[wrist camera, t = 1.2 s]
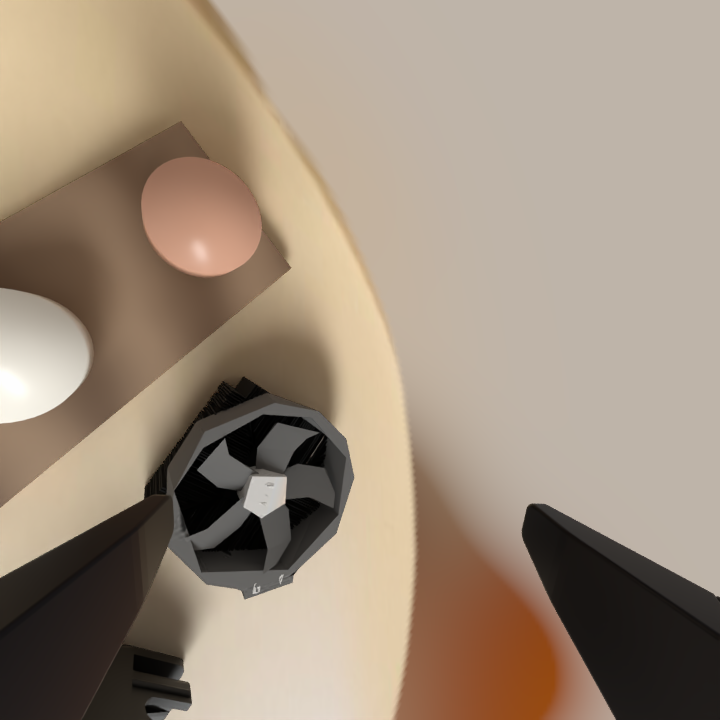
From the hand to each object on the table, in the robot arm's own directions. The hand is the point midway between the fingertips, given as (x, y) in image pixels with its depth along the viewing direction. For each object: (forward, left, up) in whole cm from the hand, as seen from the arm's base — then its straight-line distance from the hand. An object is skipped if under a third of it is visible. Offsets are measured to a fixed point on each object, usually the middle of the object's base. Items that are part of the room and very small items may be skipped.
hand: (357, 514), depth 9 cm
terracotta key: (-6, +8, -13) cm, 16 cm away
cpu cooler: (+3, -4, -16) cm, 17 cm away
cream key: (-10, -1, -13) cm, 16 cm away
